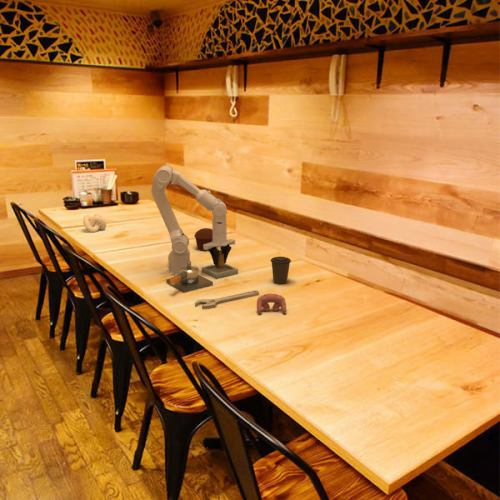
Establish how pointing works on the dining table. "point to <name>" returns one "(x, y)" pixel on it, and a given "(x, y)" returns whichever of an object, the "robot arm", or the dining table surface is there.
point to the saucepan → (186, 275)
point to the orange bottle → (220, 260)
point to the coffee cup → (280, 269)
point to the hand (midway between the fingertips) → (219, 263)
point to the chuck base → (191, 284)
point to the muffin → (203, 238)
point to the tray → (219, 271)
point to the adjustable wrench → (224, 299)
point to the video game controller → (271, 298)
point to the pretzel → (94, 223)
